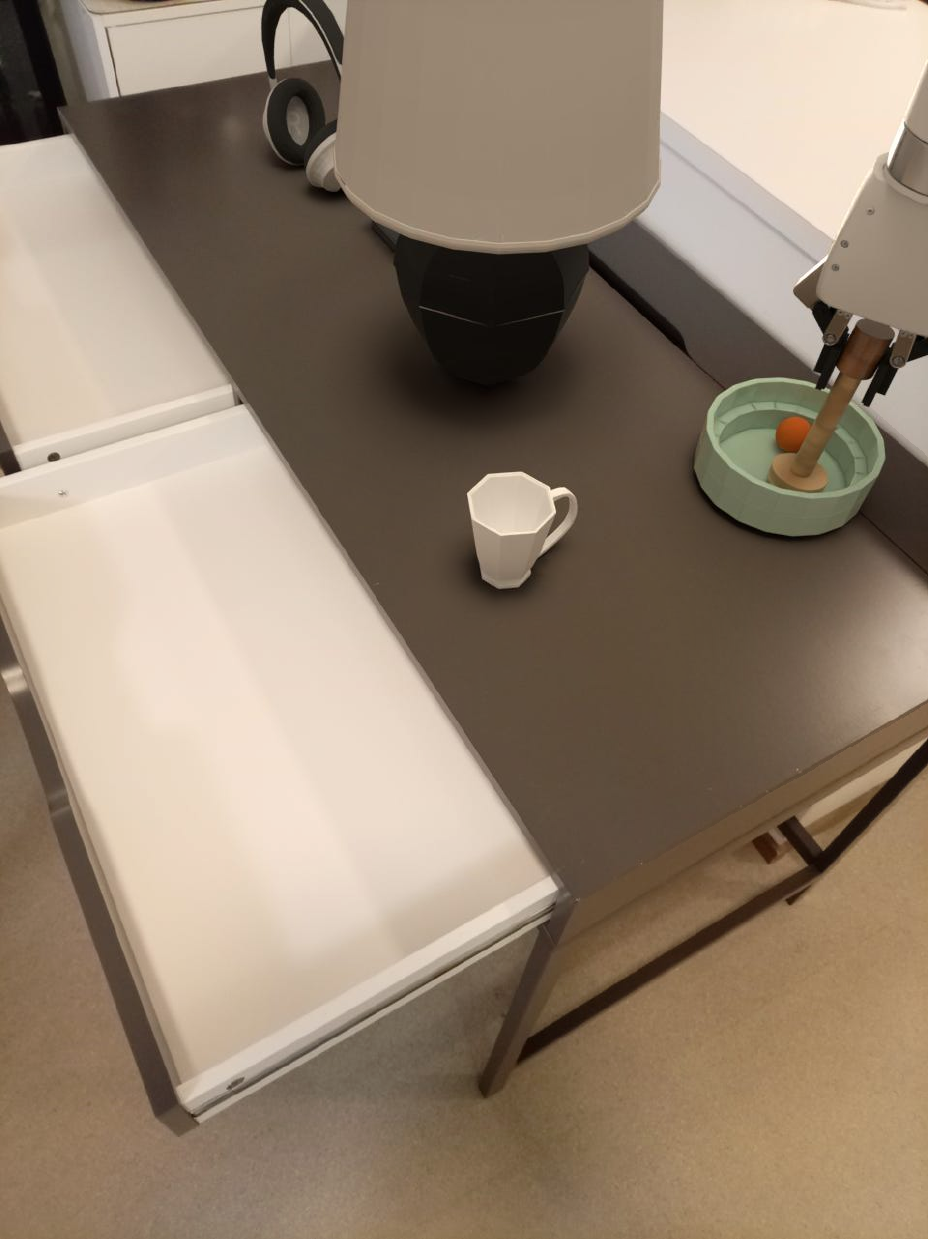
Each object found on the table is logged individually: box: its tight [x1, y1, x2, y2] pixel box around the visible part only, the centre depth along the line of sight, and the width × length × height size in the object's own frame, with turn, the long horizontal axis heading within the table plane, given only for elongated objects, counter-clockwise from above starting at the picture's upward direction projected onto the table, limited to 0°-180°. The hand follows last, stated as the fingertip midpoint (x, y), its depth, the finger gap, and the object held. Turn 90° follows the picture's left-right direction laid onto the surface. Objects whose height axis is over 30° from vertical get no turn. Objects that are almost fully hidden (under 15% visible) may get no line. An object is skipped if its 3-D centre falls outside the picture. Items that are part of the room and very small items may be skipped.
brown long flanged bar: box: [767, 317, 896, 493], centre depth 73 cm, size 5×5×15 cm
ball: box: [776, 417, 811, 452], centre depth 82 cm, size 3×3×3 cm
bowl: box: [693, 377, 886, 537], centre depth 79 cm, size 15×15×6 cm
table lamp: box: [333, 0, 665, 386], centre depth 74 cm, size 27×27×40 cm
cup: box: [466, 471, 579, 590], centre depth 72 cm, size 7×10×8 cm
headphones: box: [260, 0, 345, 193], centre depth 103 cm, size 19×8×20 cm, turn 38°
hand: (847, 386), depth 72 cm, fingers closed on brown long flanged bar, 3 cm apart
